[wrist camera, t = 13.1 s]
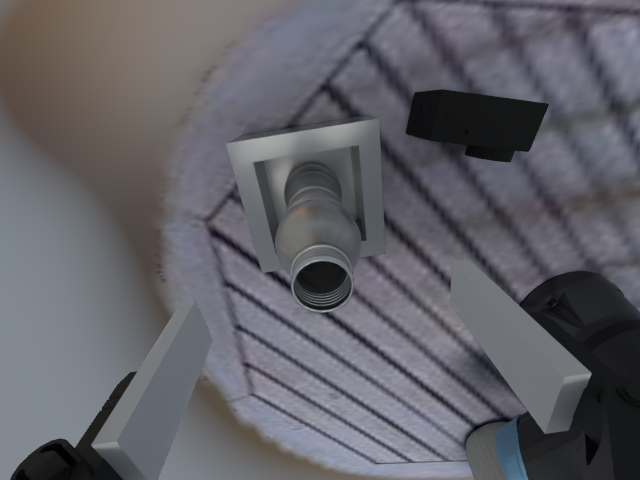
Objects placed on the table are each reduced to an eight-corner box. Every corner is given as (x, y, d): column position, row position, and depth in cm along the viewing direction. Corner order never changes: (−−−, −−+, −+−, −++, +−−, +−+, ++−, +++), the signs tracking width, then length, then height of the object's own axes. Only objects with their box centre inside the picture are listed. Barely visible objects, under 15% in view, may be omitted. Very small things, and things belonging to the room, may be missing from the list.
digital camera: (401, 144, 33) (425, 153, 27) (413, 92, 31) (442, 89, 24) (483, 153, 34) (525, 164, 28) (501, 104, 32) (550, 103, 25)
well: (371, 228, 37) (385, 253, 31) (269, 244, 38) (262, 272, 31) (363, 115, 31) (379, 118, 25) (241, 135, 31) (225, 143, 25)
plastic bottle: (332, 153, 32) (369, 218, 14) (344, 207, 35) (387, 318, 17) (278, 167, 32) (245, 248, 14) (294, 220, 35) (285, 341, 17)
